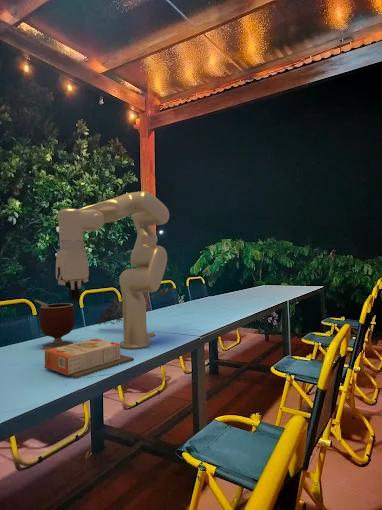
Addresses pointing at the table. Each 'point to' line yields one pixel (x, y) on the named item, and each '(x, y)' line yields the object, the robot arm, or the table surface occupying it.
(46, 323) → the mate gourd
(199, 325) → the table surface
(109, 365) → the mat
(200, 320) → the table surface
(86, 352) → the cracker box
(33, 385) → the table surface
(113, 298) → the dried plant
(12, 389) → the table surface
